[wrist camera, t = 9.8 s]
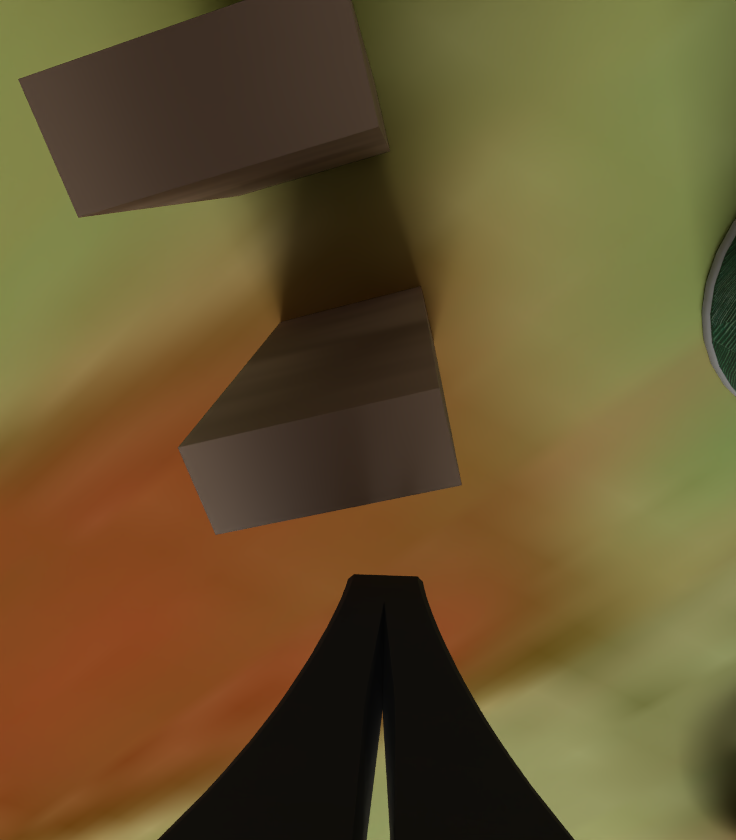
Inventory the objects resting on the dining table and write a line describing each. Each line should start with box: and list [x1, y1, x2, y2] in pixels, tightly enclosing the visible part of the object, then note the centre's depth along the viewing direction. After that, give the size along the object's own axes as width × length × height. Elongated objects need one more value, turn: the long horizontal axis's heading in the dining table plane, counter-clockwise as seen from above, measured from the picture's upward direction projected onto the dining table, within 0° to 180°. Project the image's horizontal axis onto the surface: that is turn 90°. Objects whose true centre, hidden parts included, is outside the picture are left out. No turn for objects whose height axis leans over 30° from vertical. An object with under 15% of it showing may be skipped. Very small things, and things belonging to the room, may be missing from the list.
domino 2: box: [178, 286, 462, 535], centre depth 12 cm, size 4×2×8 cm, turn 105°
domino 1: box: [18, 0, 390, 218], centre depth 10 cm, size 4×2×8 cm, turn 105°
